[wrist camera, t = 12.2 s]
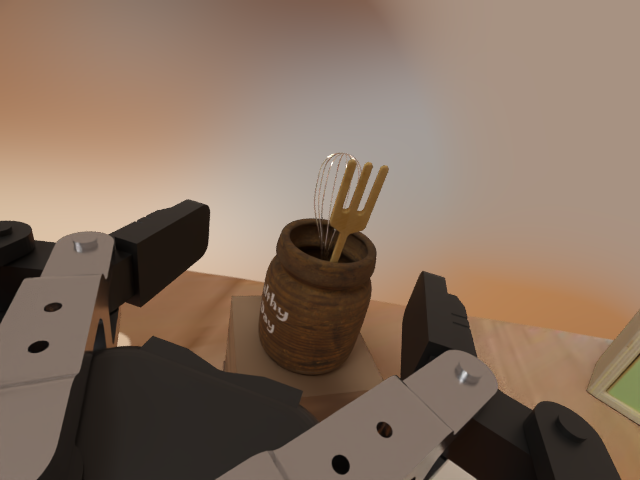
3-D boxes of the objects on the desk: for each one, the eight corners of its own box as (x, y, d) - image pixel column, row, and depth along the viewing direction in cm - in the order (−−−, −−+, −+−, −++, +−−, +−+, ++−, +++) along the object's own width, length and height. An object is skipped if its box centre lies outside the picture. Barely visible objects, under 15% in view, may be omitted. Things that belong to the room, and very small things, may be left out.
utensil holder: (344, 310, 23) (396, 139, 18) (361, 388, 18) (445, 177, 12) (260, 301, 22) (287, 117, 17) (251, 381, 17) (288, 148, 11)
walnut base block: (226, 484, 19) (236, 406, 16) (223, 366, 26) (230, 295, 22) (357, 459, 21) (389, 388, 18) (323, 358, 28) (342, 294, 25)
